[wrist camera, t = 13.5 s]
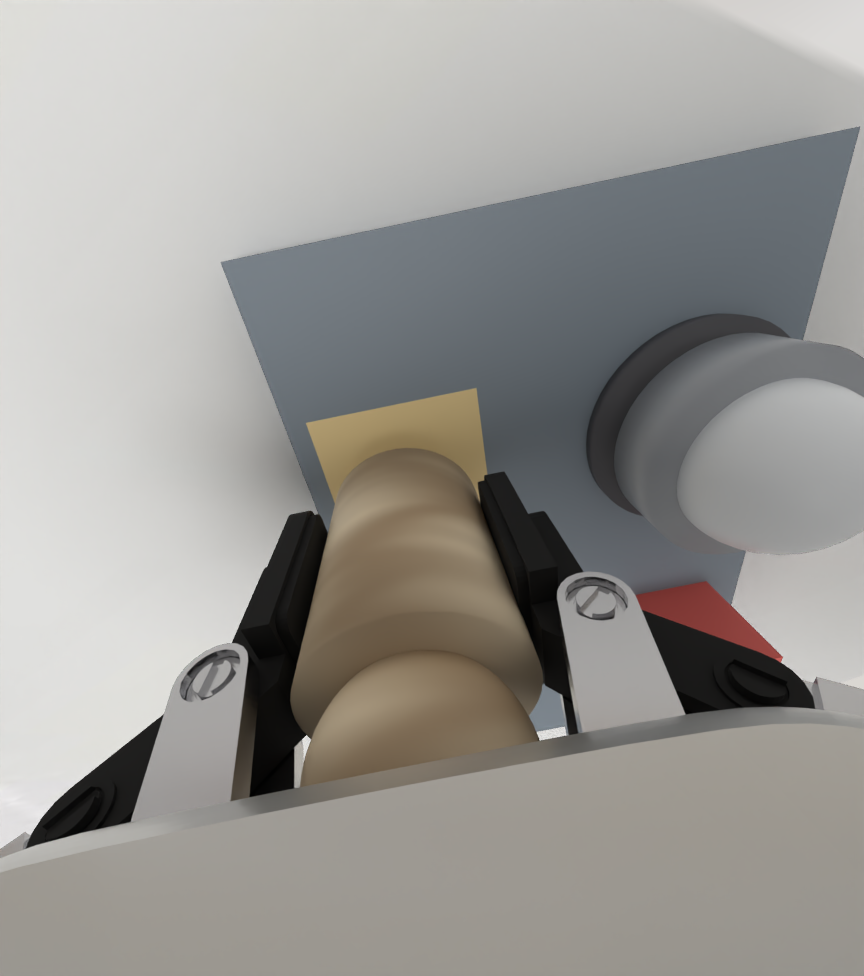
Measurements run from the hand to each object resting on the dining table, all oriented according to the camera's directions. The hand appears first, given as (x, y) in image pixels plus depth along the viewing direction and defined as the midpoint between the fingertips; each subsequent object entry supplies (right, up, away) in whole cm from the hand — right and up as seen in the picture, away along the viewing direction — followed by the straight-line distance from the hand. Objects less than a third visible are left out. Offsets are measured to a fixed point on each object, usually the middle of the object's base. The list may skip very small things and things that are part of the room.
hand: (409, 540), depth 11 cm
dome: (+10, +3, +2) cm, 10 cm away
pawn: (0, +1, +1) cm, 1 cm away
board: (+6, -1, +6) cm, 9 cm away
